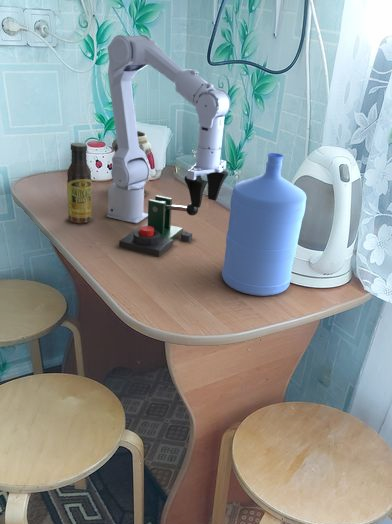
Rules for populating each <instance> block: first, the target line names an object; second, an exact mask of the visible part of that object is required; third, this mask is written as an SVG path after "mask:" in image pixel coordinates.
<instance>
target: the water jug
mask: <svg viewBox="0 0 392 524" xmlns="http://www.w3.org/2000/svg"><path fill="white" fill-rule="evenodd" d="M284 157H285V156H284V154H281V153H278V152H269V153H267V161H266V164H265V166H266V167H265V172H264V173H263V174H261V175H258V176H254V177H251V178H248V179H244V180H242V181H238V182H237V183H236V184H234V186H233V188H232V194H231V197H230V204H229V205H230V206H229V207H230V211H229V217H228V227H227V232H226V238H225V252H224V260H223V265H222V270H221V277H222V279H223V281H224V283H225V284H226V285H227V286H229V287H230V288H231V289H234V290H235V291H237V292H240V293H243V294H246V295H252V296H259V297H260V296H261V297H269V296H274V295H275V296H276V295H278V294H281V293H283V292H285V291H286V290H287V289H288V288H289V286H290V284H291V281H292V272H293V267H294V263H295V257H296V254H297V250H298V244H299V242H298V241H299V238H300V233H301V228H302V222H303V219H304V216H305V212H306V204H307V203H306V202H307V194H306V192H305V191H304V190H303V189H301V188H300V187H298V186H297V185H295V184H293V183H292V182H290V181H289V180H287V179H285V178H284V177H282V175H281V174H282V173H281V171H282V168H283V159H284Z"/></svg>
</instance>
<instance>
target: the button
mask: <svg viewBox="0 0 392 524" xmlns="http://www.w3.org/2000/svg"><path fill="white" fill-rule="evenodd" d="M139 227H140V228H139ZM139 227H138V228H139V235H140V236H144V237H151V236H154V228H153V227H151V226H142V225H141V226H139Z"/></svg>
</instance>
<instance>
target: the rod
mask: <svg viewBox="0 0 392 524" xmlns="http://www.w3.org/2000/svg"><path fill="white" fill-rule="evenodd" d="M156 201H161V202H165V203H166V201H163V200H156ZM167 209H169V210H171V211H179V212H186V213H187V215H188V216H192V217H193V216H195V215H197V214H198V212H199V208H197V207H194V206H192V204H191V203H189V204H188V205H178V204H172V205H169V204H167V203H166V204H165V211H166V210H167Z"/></svg>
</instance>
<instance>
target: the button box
mask: <svg viewBox="0 0 392 524" xmlns="http://www.w3.org/2000/svg"><path fill="white" fill-rule="evenodd" d="M136 229H137V230H136ZM136 229H135V230H132V231H131V232H130V233H128V234H127V235H125V236H124V237H123V238H121V239H120V240H118V243H119V244H118V247H119V248H120V249H125V250H130V251H133V252H138V253H141V254H144V255H145V254H146V255H150V256H153V257H158V258H160V257H161V256H162V255H163V254H164V253H166V252H167V251H168V250H169V249H171V248H172V247H173V244H174V239H173V240H172V239H167V238H163V237H160V234H159V232H158V231H156V230H154V236H151V237H144V236H140V235H139V229H138V228H136Z"/></svg>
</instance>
